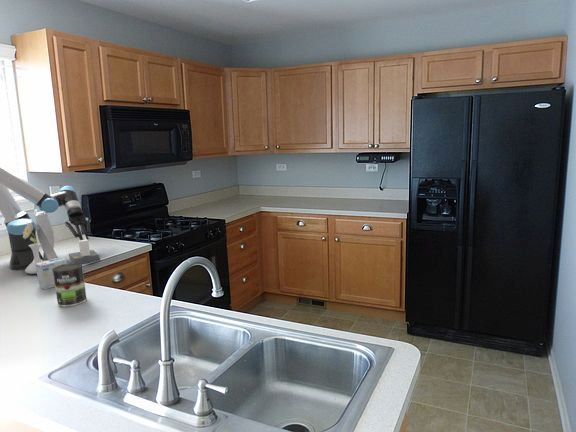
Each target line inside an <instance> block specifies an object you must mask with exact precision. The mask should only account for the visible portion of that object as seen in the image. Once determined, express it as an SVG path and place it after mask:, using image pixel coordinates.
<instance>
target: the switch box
mask: <svg viewBox="0 0 576 432" xmlns="http://www.w3.org/2000/svg"><path fill="white" fill-rule="evenodd" d="M89 250H90V255H88V256H83V257H82V256H81V255H80V251H77V252H72V253H68V258H69V259H68V260H69V261H70V262H71V264H73V263H78V264H82V265H83V264H87V263H92V262H97V261H100V254H99V253H98V252H97V251H96V250H94V249H89Z"/></svg>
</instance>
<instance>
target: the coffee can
mask: <svg viewBox="0 0 576 432" xmlns="http://www.w3.org/2000/svg"><path fill="white" fill-rule="evenodd" d="M52 271H53V275H54V282H55V293H56V295H55V296H56V299H57V306H58V307H62V308H68V307H75V306H78V305H81V304H83V303H85V302H86V301H87V299H88V298H87V293H86V287H85V286H86V285H85V276H84V269H83V263H82V264H78V263H67V264H65V265H61V266H57V267H55V268H53V269H52Z"/></svg>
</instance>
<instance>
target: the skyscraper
mask: <svg viewBox="0 0 576 432" xmlns="http://www.w3.org/2000/svg"><path fill="white" fill-rule="evenodd" d="M33 212H34V213H33V216H34V217H35V219H36V220H35V224H36V236H37V239H38V241H39V243H40V247H41V249H42V252H43V255H42V257H43V259H44V261H48V260H52V259H56V258H59V256H58V255H57V253H56V251H55V249H54V248H55V235H54V229H53V226H52V223H51V221H50V219H49V213H48V212H45V211H39V212H38V209H37V208H36V209H34V211H33Z"/></svg>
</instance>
